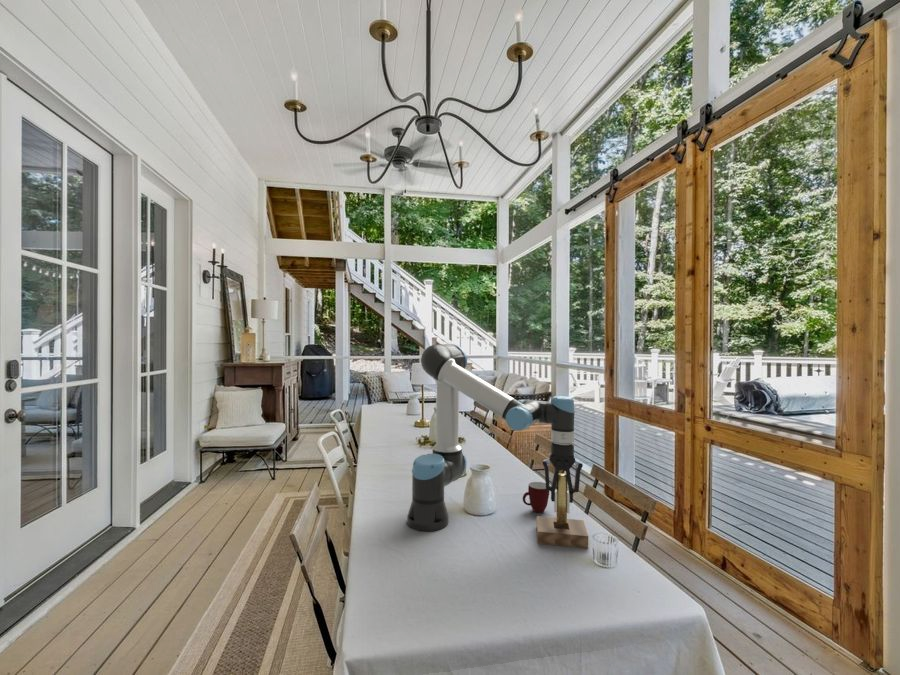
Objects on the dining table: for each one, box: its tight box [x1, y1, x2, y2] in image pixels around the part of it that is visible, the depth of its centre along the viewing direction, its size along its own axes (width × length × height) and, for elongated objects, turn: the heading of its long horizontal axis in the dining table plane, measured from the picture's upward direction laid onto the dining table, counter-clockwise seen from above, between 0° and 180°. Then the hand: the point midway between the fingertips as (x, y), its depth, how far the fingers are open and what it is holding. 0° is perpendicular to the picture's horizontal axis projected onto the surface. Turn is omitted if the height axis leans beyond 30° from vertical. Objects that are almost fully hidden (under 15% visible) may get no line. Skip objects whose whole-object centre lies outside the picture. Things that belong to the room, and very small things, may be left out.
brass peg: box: [556, 472, 568, 524], centre depth 142 cm, size 3×3×16 cm
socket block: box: [536, 515, 589, 549], centre depth 143 cm, size 16×12×4 cm
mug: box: [522, 481, 550, 514], centre depth 164 cm, size 11×8×10 cm
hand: (561, 511), depth 143 cm, fingers closed on brass peg, 3 cm apart
